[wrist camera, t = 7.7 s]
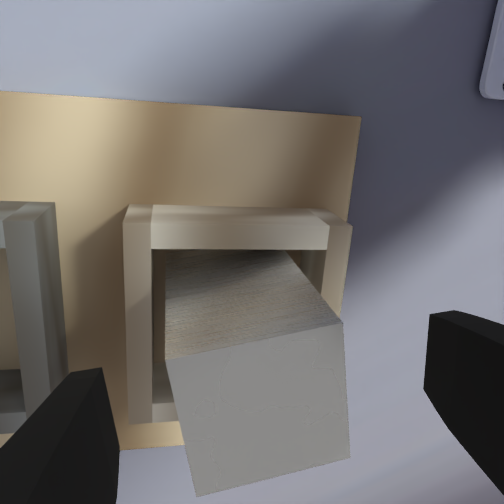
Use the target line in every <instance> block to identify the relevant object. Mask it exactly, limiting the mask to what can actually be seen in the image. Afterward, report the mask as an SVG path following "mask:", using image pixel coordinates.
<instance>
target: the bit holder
mask: <svg viewBox="0 0 504 504" xmlns="http://www.w3.org/2000/svg"><path fill="white" fill-rule="evenodd" d="M361 118H362V117H361V116H347V115H332V114H318V113H304V112H290V111H276V110H262V109H248V108H234V107H220V106H206V105H191V104H177V103H163V102H149V101H135V100H121V99H107V98H93V97H79V96H65V95H50V94H36V93H22V92H8V91H0V448H1V447H2V446H3V445H4V444H5V443H6V442H7V441H8V439H9V438H10V437H11V436H12V435H13V434H14V433H15V432H16V431H17V430H18V429H19V428H20V427H21V426H22V424H23V423H24V422H25V421H26V420H27V419H28V418H29V417H30V416H31V415H32V414H33V413H34V412H35V410H36V409H37V408H38V407H39V406H40V405H41V404H42V403H43V402H44V400H45V399H46V398H47V397H48V396H49V395H50V394H51V393H52V392H53V390H54V389H55V388H56V387H57V386H58V385H59V384H60V383H61V382H62V381H63V380H64V378H65V377H66V376H67V375H68V374H69V373H70V372H75V371H81V370H87V369H93V368H99V367H102V369H103V374H104V378H105V383H106V387H107V391H108V396H109V400H110V405H111V409H112V414H113V418H114V423H115V427H116V432H117V436H118V441H119V445H120V450H130V449H142V448H153V447H165V446H177V445H184V440H183V436H182V432H181V427H180V423H179V419H178V414H177V410H176V406H175V401H174V397H173V393H172V388H171V384H170V380H169V375H168V371H167V367H166V362H165V284H166V253H169V252H175V251H180V250H186V249H259V250H285V251H286V252H287V254H288V255H289V256H290V257H291V259H292V260H293V261H294V262H295V264H296V265H297V266H298V267H299V269H300V270H301V271H302V272H303V274H304V275H305V276H306V277H307V279H308V280H309V281H310V282H311V284H312V285H313V286H314V287H315V289H316V290H317V291H318V292H319V294H320V295H321V296H322V297H323V299H324V300H325V301H326V302H327V304H328V305H329V306H330V307H331V309H332V310H333V311H334V312H335V314H336V315H337V316H338V317H339V319H340V312H341V305H342V298H343V291H344V285H345V278H346V271H347V264H348V257H349V251H350V244H351V237H352V230H353V226H351V225H350V224H348V223H347V217H348V210H349V203H350V196H351V189H352V182H353V175H354V168H355V161H356V153H357V146H358V139H359V132H360V125H361Z"/></svg>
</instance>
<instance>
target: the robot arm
mask: <svg viewBox="0 0 504 504" xmlns="http://www.w3.org/2000/svg"><path fill="white" fill-rule="evenodd" d="M503 83H504V0H498V3H497V7H496V12H495V16H494V21H493V25H492V30H491V34H490V39H489V44H488V48H487V53H486V57H485V62H484V66H483V71H482V75H481V80H480V86H479V90H480V93H481V95H482V96H483V97H485V98H488V99H499V100H504V91H503V89H502V87H503ZM423 389H424V391H425V393H426V394H427V396H428V398H429V399H430V401H431V402H432V404H433V406H434V407H435V409H436V411H437V412H438V414H439V415H440V417H441V418H442V420H443V421H444V423H445V424H446V426H447V427H448V429H449V430H450V431H451V432H452V434H453V435H454V436H455V437H456V439H457V440H458V441H459V442H460V444H461V445H462V446H463V447H464V448H465V450H466V451H467V452H468V453H469V455H470V456H471V457H472V458H473V459H474V461H475V462H476V463H477V464H478V465H479V467H480V468H481V469H482V470H483V471H484V472H485V474H486V475H487V476H488V477H489V478H490V480H491V481H492V482H493V483H494V484H495V486H496V487H497V488H498V489H499V490H500V492H501V493H502V494H503V495H504V325H502V324H499V323H497V322H494V321H490V320H487V319H484V318H481V317H478V316H475V315H471V314H467V313H464V312H459V311H455V310H453V311H447V312H441V313H435V314H430V317H429V329H428V341H427V353H426V365H425V376H424V388H423ZM119 453H120V445H119V441H118V436H117V432H116V427H115V423H114V418H113V414H112V409H111V405H110V400H109V396H108V391H107V387H106V383H105V378H104V374H103V369H102V367H99V368H93V369H87V370H81V371H75V372H70V373H69V374H68V375H67V376H66V377H65V378H64V380H63V381H62V382H61V383H60V384H59V385H58V386H57V387H56V388H55V389H54V390H53V392H52V393H51V394H50V395H49V396H48V397H47V398H46V399H45V400H44V402H43V403H42V404H41V405H40V406H39V407H38V408H37V409H36V410H35V412H34V413H33V414H32V415H31V416H30V417H29V418H28V419H27V420H26V421H25V422H24V423H23V424H22V426H21V427H20V428H19V429H18V430H17V431H16V432H15V433H14V434H13V435H12V436H11V437H10V438H9V439H8V441H7V442H6V443H5V444H4V445H3V446H2V447H1V448H0V504H116V499H117V488H118V473H119Z"/></svg>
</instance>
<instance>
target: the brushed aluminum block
mask: <svg viewBox="0 0 504 504" xmlns="http://www.w3.org/2000/svg"><path fill="white" fill-rule="evenodd" d="M165 362H166V367H167V371H168V375H169V380H170V384H171V388H172V393H173V397H174V401H175V406H176V410H177V414H178V419H179V423H180V427H181V432H182V436H183V440H184V445H185V449H186V454H187V458H188V462H189V467H190V471H191V475H192V480H193V484H194V488H195V493H196V497H200V496H203V495H207V494H211V493H215V492H219V491H223V490H227V489H231V488H235V487H239V486H242V485H246V484H250V483H254V482H258V481H262V480H266V479H270V478H274V477H278V476H281V475H285V474H289V473H293V472H297V471H301V470H305V469H309V468H313V467H317V466H320V465H324V464H328V463H332V462H336V461H340V460H344V459H348V458H350V443H349V425H348V407H347V389H346V370H345V352H344V334H343V322H342V321H341V320H340V319H339V317H338V316H337V315H336V314H335V312H334V311H333V310H332V309H331V307H330V306H329V305H328V304H327V302H326V301H325V300H324V299H323V297H322V296H321V295H320V294H319V292H318V291H317V290H316V289H315V287H314V286H313V285H312V284H311V282H310V281H309V280H308V279H307V277H306V276H305V275H304V274H303V272H302V271H301V270H300V269H299V267H298V266H297V265H296V264H295V262H294V261H293V260H292V259H291V257H290V256H289V255H288V254H287V252H286V251H285V250H259V249H186V250H180V251H175V252H169V253H166V284H165Z"/></svg>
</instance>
